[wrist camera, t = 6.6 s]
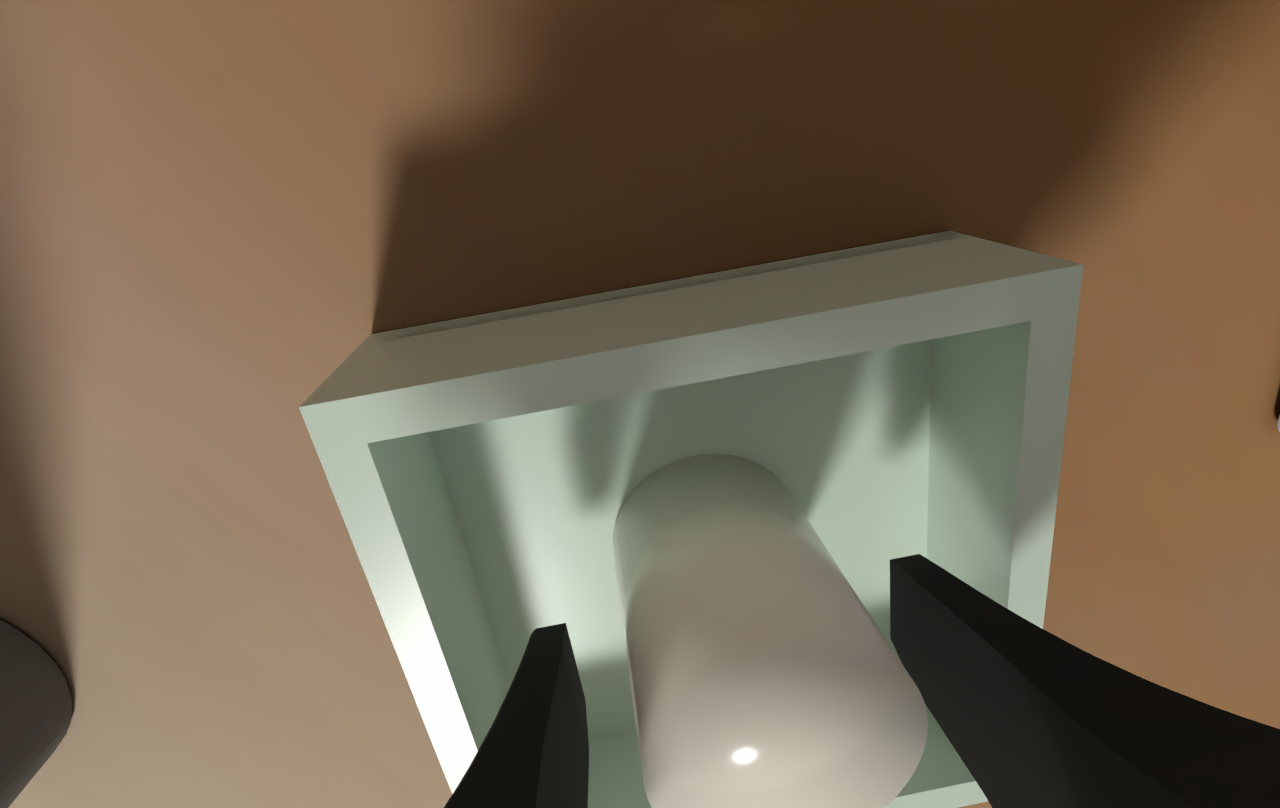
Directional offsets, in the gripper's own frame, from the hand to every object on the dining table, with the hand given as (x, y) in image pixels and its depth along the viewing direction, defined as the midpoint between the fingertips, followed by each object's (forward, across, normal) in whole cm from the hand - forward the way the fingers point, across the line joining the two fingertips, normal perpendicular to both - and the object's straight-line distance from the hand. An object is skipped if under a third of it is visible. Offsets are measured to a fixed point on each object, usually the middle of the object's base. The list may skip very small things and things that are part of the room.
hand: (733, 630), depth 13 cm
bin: (+4, 0, 0) cm, 4 cm away
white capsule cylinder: (+3, 0, 0) cm, 3 cm away
